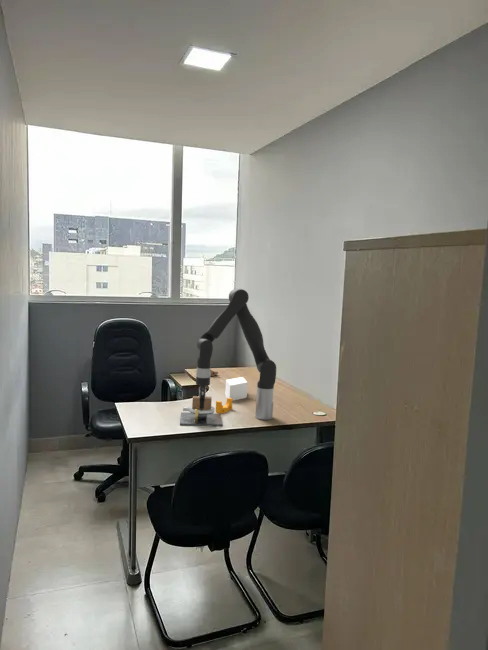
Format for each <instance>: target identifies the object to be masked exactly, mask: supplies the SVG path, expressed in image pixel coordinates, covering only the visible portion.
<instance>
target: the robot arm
mask: <svg viewBox="0 0 488 650" xmlns="http://www.w3.org/2000/svg"><path fill="white" fill-rule="evenodd" d="M228 300H229V303H228V305H227V306H226V308H224V310H223V311H222V312H221V313H220V314H219V315H218V316H217V317H216V318H215V319H214V320H213V321H212V323H211V325H210V326H209V328H208V329H207V330H206V331H205V332H204V333H203V334H202V335H201V336H200V338H199V339H198V341H197V342H196V347H197V349H198V350H199V357H197V361H196V362H197V363H196V364H197V365H196V371H195V372H196V373H195V385H197V386H199V387H198V396H199V397H200V409H204V401H205V397H207V396H206V393H207V386H210V385H211V376H210V370H211V366H210V363H211V364H212V357H213V356H212V355H213V350H214V347H213V346H214V345H213V342H214V341H215V340H217V339H218V338H219V337H220V336H221V334H222V333H223V332H224V331H225V329H226V328H227V326H228V325H229V323H230V322H231V321H232V319H233V318H234V317H235V316H237V320H238V322H239V325H240V327H241V330H242V333H243V335H244V338H245V340H246V343H247V345H248V347H249V348H250V351H251V353H252V355H253V356H252V357H253V358H254V362H255V366H256V369H257V371H258V372H259V380H258V381H257V383H256V384H257V385H256V398H255V400H256V401H255V416H254V417H255V418H256V419H258V420H266V421H267V420H273V416H274V415H273V413H274V401H273V400H274V389H275V388H274V387H275V383H276V377H277V364H276V362H275V361H273V360H272V359H270V357H269V356H268V353H267V351H266V349H265V345H264V336H263V333H262V331H261V328H260V326H259V324H258V322H257V320H256V319H255V318H254V317H255V316H254V315H252V313H251V311H250V309H249V307H248V305H247V303H248V301H249V293H248V292H247V290H245V289H244V288H243V289H242V288H234V289H232V290H230V291H229V294H228ZM210 360H211V361H210ZM201 398H204V399H201Z"/></svg>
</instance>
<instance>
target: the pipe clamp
mask: <svg viewBox="0 0 488 650" xmlns="http://www.w3.org/2000/svg"><path fill="white" fill-rule="evenodd" d="M233 403H234V402H233V399H232V398H227V397H226V402H225V404H224V405H223V402H222V401H220V400H217V401H216V402H215V413H220V414H221V415H222V414H225V413H228V412H229V411H232V410H233Z"/></svg>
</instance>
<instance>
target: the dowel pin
mask: <svg viewBox="0 0 488 650" xmlns="http://www.w3.org/2000/svg"><path fill="white" fill-rule="evenodd" d="M195 423H198V409H195Z"/></svg>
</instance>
